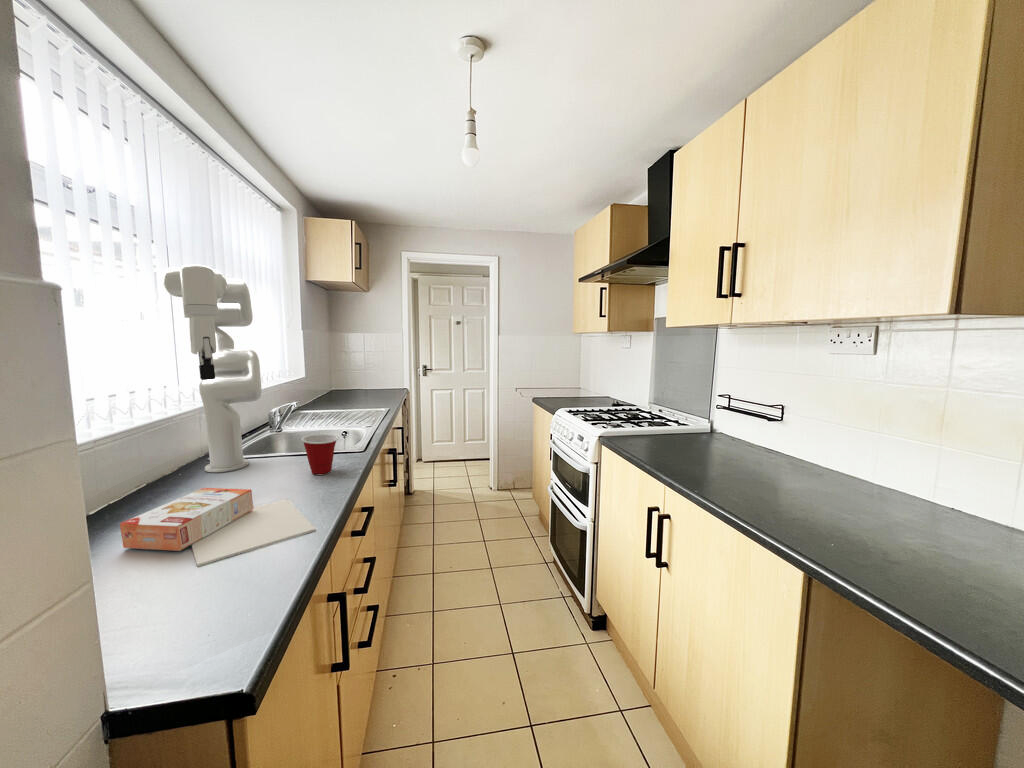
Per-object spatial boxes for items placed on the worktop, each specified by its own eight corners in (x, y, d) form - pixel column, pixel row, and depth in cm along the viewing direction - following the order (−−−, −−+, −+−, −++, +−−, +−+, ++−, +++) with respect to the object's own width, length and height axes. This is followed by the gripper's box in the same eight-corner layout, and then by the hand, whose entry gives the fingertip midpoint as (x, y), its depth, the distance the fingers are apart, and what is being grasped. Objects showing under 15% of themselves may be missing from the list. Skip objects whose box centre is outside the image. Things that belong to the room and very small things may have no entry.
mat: (185, 525, 99) (185, 524, 99) (287, 500, 114) (287, 498, 114) (197, 566, 82) (197, 564, 82) (315, 530, 96) (315, 528, 96)
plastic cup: (330, 478, 132) (328, 441, 130) (297, 478, 132) (294, 441, 131) (345, 467, 142) (343, 433, 141) (314, 467, 143) (312, 433, 141)
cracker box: (252, 487, 106) (176, 525, 85) (254, 509, 107) (180, 553, 86) (202, 485, 108) (117, 523, 87) (205, 507, 108) (121, 550, 88)
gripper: (181, 313, 116) (188, 378, 118) (186, 310, 105) (194, 382, 107) (214, 313, 121) (220, 376, 123) (222, 311, 110) (228, 380, 112)
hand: (207, 379), depth 115 cm, fingers closed
